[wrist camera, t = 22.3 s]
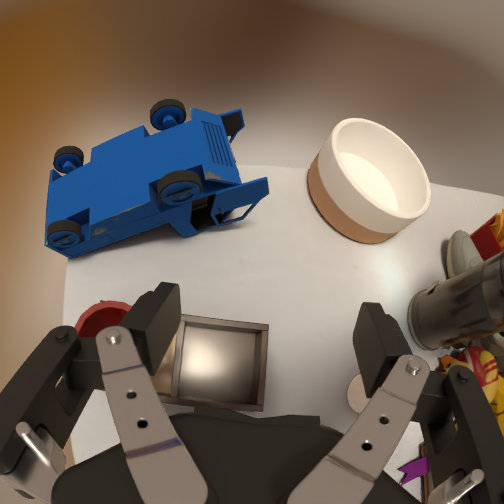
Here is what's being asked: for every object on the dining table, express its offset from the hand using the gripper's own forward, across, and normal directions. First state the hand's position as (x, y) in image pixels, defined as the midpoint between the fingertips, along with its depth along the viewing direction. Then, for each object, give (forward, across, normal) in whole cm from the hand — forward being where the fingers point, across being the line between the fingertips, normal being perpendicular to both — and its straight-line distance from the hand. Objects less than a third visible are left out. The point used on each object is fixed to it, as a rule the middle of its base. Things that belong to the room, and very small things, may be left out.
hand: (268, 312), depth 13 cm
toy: (+15, -35, +20) cm, 43 cm away
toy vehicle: (+16, +15, -6) cm, 22 cm away
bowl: (+35, -12, 0) cm, 37 cm away
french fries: (+35, -38, +9) cm, 52 cm away
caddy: (+12, +9, +16) cm, 22 cm away
